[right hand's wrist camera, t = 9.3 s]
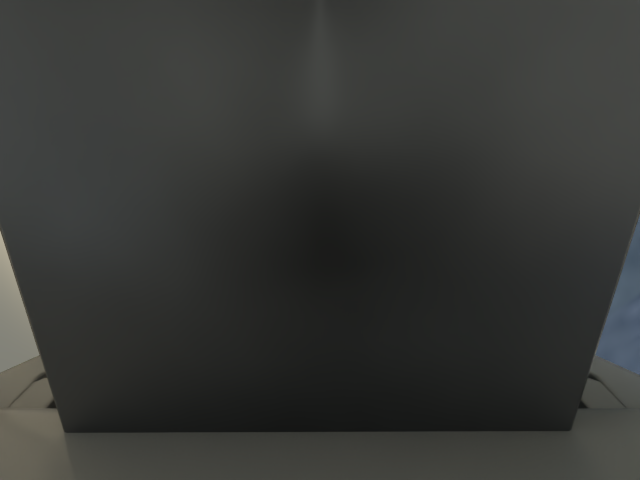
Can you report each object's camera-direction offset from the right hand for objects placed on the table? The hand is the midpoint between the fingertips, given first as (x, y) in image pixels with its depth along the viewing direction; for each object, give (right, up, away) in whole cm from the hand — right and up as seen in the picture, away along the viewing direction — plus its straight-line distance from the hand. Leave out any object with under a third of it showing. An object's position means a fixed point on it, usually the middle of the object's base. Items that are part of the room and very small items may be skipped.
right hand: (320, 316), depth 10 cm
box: (0, +8, +3) cm, 9 cm away
